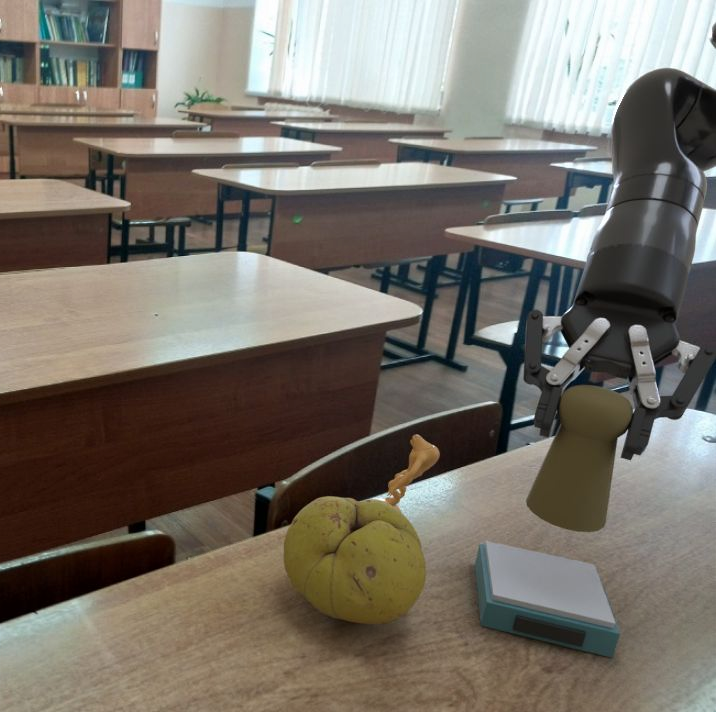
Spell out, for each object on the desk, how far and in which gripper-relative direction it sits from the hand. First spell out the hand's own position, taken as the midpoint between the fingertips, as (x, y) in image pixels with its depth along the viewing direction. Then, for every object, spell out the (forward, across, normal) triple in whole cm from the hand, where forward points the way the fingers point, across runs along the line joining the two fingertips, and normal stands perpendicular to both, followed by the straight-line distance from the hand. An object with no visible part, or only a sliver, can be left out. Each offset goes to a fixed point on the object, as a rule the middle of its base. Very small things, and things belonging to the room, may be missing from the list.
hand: (585, 443), depth 57 cm
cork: (+4, 0, +6) cm, 8 cm away
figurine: (+10, -14, +15) cm, 23 cm away
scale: (+11, 0, +13) cm, 17 cm away
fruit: (+18, -14, +6) cm, 24 cm away
